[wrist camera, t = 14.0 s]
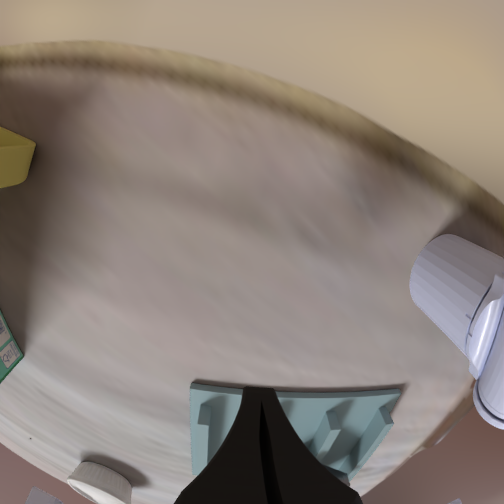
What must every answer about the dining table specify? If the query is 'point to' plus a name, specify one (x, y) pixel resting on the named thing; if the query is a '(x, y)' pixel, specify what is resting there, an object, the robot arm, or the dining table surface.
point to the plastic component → (14, 157)
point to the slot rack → (299, 423)
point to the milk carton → (7, 350)
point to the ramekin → (100, 484)
